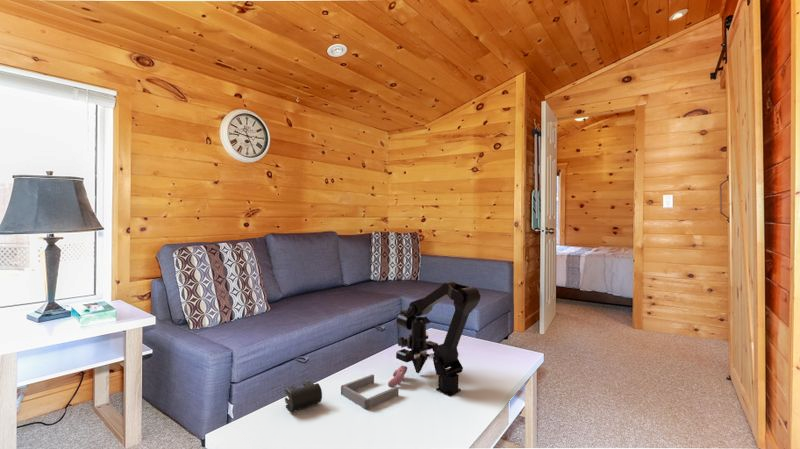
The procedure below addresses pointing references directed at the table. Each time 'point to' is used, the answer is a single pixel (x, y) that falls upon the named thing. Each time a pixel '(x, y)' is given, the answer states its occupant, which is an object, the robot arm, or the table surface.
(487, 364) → the table surface
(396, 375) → the pink curved piece
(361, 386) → the sorting bay
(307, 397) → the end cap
